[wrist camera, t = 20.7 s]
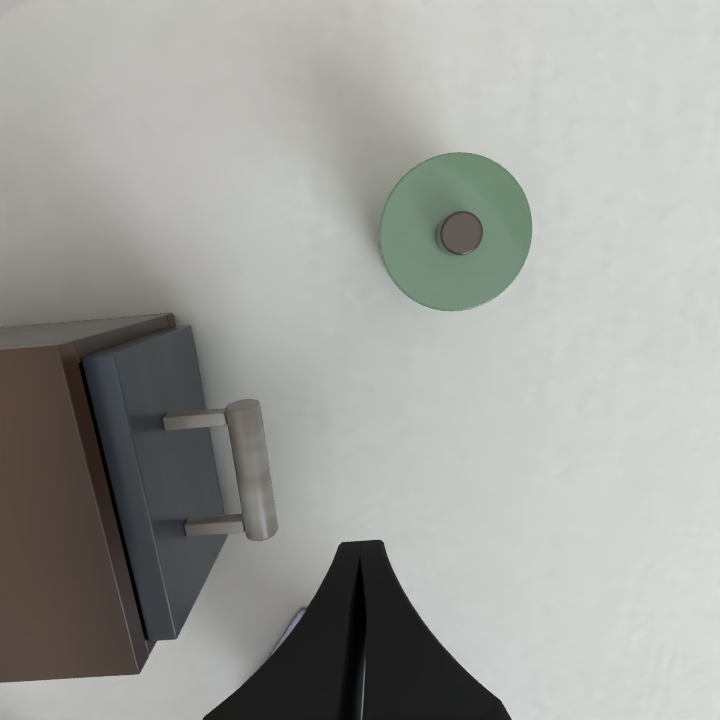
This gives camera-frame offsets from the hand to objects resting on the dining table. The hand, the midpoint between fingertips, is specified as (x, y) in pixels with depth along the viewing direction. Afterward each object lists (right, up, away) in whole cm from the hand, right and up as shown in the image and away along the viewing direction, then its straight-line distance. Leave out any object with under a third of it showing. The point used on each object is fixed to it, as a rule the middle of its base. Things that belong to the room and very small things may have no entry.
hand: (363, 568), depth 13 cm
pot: (+3, +12, +8) cm, 15 cm away
